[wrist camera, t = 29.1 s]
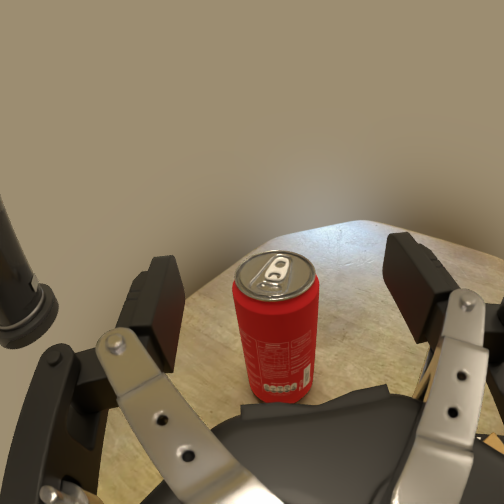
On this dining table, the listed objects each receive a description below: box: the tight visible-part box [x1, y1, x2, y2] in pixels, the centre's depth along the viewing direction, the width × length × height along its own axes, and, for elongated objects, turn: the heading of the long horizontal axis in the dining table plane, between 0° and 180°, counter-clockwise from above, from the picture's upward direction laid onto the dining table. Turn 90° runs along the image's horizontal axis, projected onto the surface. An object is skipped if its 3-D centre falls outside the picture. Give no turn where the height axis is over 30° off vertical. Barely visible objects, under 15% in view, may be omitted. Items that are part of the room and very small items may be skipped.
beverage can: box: [232, 250, 319, 404], centre depth 22 cm, size 5×5×12 cm
